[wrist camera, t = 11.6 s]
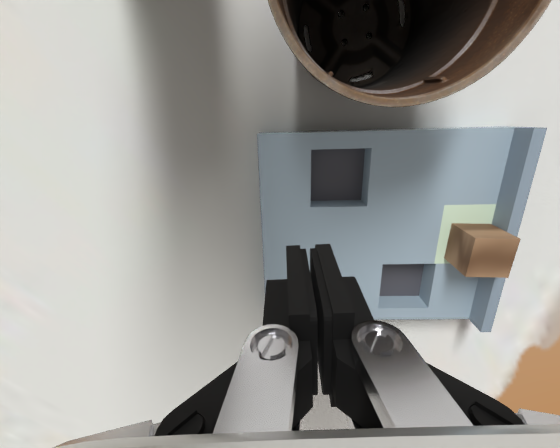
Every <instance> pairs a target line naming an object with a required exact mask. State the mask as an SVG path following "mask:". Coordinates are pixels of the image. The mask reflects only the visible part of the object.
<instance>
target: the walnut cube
mask: <svg viewBox="0 0 560 448" xmlns="http://www.w3.org/2000/svg"><path fill="white" fill-rule="evenodd" d="M519 242H520V238H518V237H516V236H514V235H512V234H510V233H508V232H506V231H504V230H502V229H500V228H498V227H496V226H494V225H492V224H468V223H452V224H451V229H450V233H449V238H448V242H447V247H446V251H445V256H444V258H445V259H446V260H447V261H448V262H449V263H450V264H451V265H453V266H454V267H455V268H456V269H457V270H458V271H459V272H461V273H462V274H463V275H464V276H465V277H499V278H508V276H509V273H510V270H511V267H512V264H513V261H514V258H515V254H516V251H517V248H518V245H519Z"/></svg>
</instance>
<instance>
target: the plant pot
mask: <svg viewBox="0 0 560 448" xmlns="http://www.w3.org/2000/svg"><path fill="white" fill-rule="evenodd" d="M403 1H404V7H405V23H404V26H403V27H401V24H400V19H399V17H400V15H399V7H398V0H268V3H269V6H270V9H271V12H272V14H273V17H274V19H275V22H276V24H277V26H278V28H279V30H280V32H281V34H282V36H283V38H284V39H285V41H286V43H287V45H288V46H289V48H290V49H291V51H292V52H293V54H294V55H295V56H296V58H297V59H298V60H299V61H300V63H301V64H302V65H303V66H304V67H305V68H306V69H307V70H308V71H309V72H310V74H311V75H312V76H313V77H314V78H316V79H317V80H318V81H319V82H321V83H322V84H324V85H326V86H327V87H328V88H330V89H332V90H333V91H335V92H337V93H339V94H341V95H343V96H345V97H347V98H350V99H353V100H355V101H359V102H362V103H366V104H370V105H375V106H383V107H406V106H414V105H420V104H425V103H429V102H432V101H435V100H438V99H441V98H444V97H446V96H449V95H451V94H453V93H456V92H458V91H460V90H462V89H464V88H466V87H467V86H469V85H471V84H473V83H474V82H476V81H477V80H479V79H481V78H482V77H484V76H485V75H486V74H488V73H489V72H490V71H492V70H493V69H494V68H495V67H496V66H497V65H499V64H500V63H501V62H502V61H503V60H504V59H506V58H507V57H508V56H509V55H510V54H511V53H512V52H513V51H514V50H515V48H516V47H517V46H518V45H519V44H520V43H521V42H522V41H523V39H524V38H525V37H526V36H527V35H528V34H529V32H530V31H531V30H532V29H533V27H534V26H535V25H536V23H537V22H538V20H539V19H540V17H541V16H542V15H543V13H544V12H545V10H546V9H547V7H548V5H549V4H550V2H551V0H403ZM365 3H368V4H369V9H368V10H367V11H364V10H363V5H364V4H365ZM340 10H343V11H344V16H343V17H342V18H339V17H338V12H339V11H340ZM305 25H308V26H309V36H310V43H311V46H312V52H311V53H310V52H309V51H308V50H307V48H306V44H305V39H304V30H303V28H304V26H305ZM368 32H370V33H372V38H371V39H367V38H366V35H367V33H368ZM343 39H347V41H348V42H347V45H345V46H343V45H342V44H341V42H342V40H343ZM369 71H372V72H373V76H372V77H370V78H368V79H365V80H362V81H358V82H350V81H349V79H350V78H351V77H353V76H360V75H363V74H365V73H367V72H369Z"/></svg>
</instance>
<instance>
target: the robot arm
mask: <svg viewBox="0 0 560 448" xmlns="http://www.w3.org/2000/svg"><path fill="white" fill-rule="evenodd" d="M286 262H287V279H276V280H267V282H266V293H265V305H264V317H263V326H261V327H259V328H257V329H255V330H253V331H252V332H251V333H250V334H249V335H248V337H247V338H246V340H245V343H244V345H243V348H242V351H241V354H240V357H239V360H238V362H236V363H235V364H234V365H232V366H231V367H230V368H228V369H227V370H226V371H225V372H223V373H222V374H221V375H219V376H218V377H217V378H215V379H214V380H213V381H211V382H210V383H209V384H207V385H206V386H205V387H203V388H202V389H201V390H199V391H198V392H197V393H195V394H194V395H193V396H191V397H190V398H189V399H187V400H186V401H185V402H183V403H182V404H181V405H179V406H178V407H177V408H175V409H174V410H173V411H172V412H170V413H169V414H168V415H167V416H166V417H165V418H164V419H163V421H162V422H161V423H157V424H153V423H152V420H149V421H145V422H141V423H137V424H133V425H129V426H125V427H121V428H117V429H114V430H110V431H106V432H102V433H98V434H94V435H90V436H86V437H82V438H78V439H75V440H71V441H67V442H65V443H63V444H60V445H58V446H56V447H54V448H560V416H559V415H554V414H548V413H542V412H536V411H530V410H524V409H519V411H518V413H514V412H513V411H512V410H511V409H509V408H508V407H507V406H505V405H503V404H502V403H500V402H499V401H497V400H495V399H493V398H492V397H490V396H488V395H486V394H484V393H482V392H480V391H478V390H477V389H475V388H473V387H471V386H469V385H467V384H465V383H463V382H462V381H460V380H458V379H456V378H454V377H452V376H450V375H448V374H447V373H445V372H443V371H441V370H439V369H437V368H435V367H433V366H432V365H430V364H428V363H426V362H425V361H424V360H423V358H422V357H421V356H420V354H419V353H418V352H417V350H416V349H415V348H414V346H413V345H412V344H411V342H410V341H409V340H408V338H407V337H406V336H405V335H404V334H403V333H402V332H401V331H400V330H399V329H398V328H396V327H394V326H393V325H391V324H388V323H385V322H381V321H374V318H373V316H372V314H371V312H370V309H369V307H368V305H367V302H366V300H365V298H364V296H363V293H362V291H361V289H360V287H359V284H358V282H357V280H356V278H355V277H354V276H350V277H342V275H341V273H340V270H339V267H338V264H337V262H336V259H335V256H334V253H333V250H332V248H331V245H330V244H315V248H310V269H309V264H308V258H307V252H306V249H300V245H290V246H286ZM318 366H319V373H320V379H321V386H322V393H323V395H328V394H329V396H330V402H331V407H337V408H339V409H340V410H341V411H342V412H344V413H345V414H346V415H347V423H348V427H349V429H337V430H304V431H301V419H302V418H303V417H304V416H305V415H306V414H307V413H308V411H309V410H310V409H311V408H312V407H313V395H317V394H318Z"/></svg>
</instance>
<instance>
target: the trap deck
mask: <svg viewBox="0 0 560 448" xmlns="http://www.w3.org/2000/svg"><path fill="white" fill-rule="evenodd" d="M546 130H547V128H537V127H469V128H430V129H391V130H352V131H313V132H274V133H258V134H257V140H258V160H259V180H260V200H261V220H262V240H263V260H264V280H265V293H266V282H267V280H276V279H287V262H286V246H290V245H300V249H306V252H307V258H308V264H309V269H310V248H315V244H330V245H331V248H332V250H333V253H334V256H335V259H336V262H337V264H338V267H339V270H340V273H341V275H342V277H350V276H354V277H355V278H356V280H357V282H358V284H359V287H360V289H361V291H362V293H363V296H364V298H365V300H366V302H367V305H368V307H369V309H370V312H371V314H372V316H373V318H374V320H376V319H469V320H470V321H471V322H472V323H473V324H474V325H475V326H476V327H477V328H478V329H479V331H480V332H491V329H492V326H493V322H494V318H495V315H496V311H497V307H498V304H499V300H500V297H501V293H502V289H503V286H504V282H505V278H499V277H465V276H464V275H463V274H462V273H461V272H459V271H458V270H457V269H456V268H455V267H454V266H453V265H451V264H450V263H449V262H448V261H447V260H446V259H445V258H444V256H445V251H446V247H447V242H448V238H449V233H450V229H451V224H452V223H468V224H492V225H494V226H496V227H498V228H500V229H502V230H504V231H506V232H508V233H510V234H512V235H514V236H516V237H517V235H518V231H519V228H520V224H521V221H522V217H523V213H524V210H525V206H526V202H527V199H528V195H529V192H530V188H531V184H532V181H533V177H534V173H535V170H536V166H537V163H538V159H539V155H540V152H541V148H542V145H543V141H544V137H545V134H546Z"/></svg>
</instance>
